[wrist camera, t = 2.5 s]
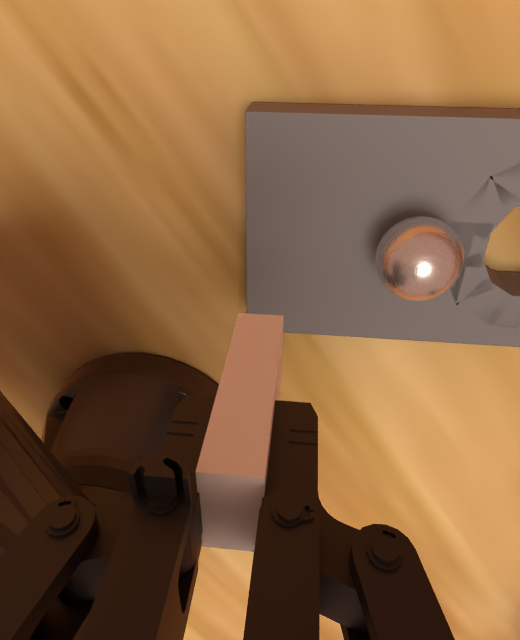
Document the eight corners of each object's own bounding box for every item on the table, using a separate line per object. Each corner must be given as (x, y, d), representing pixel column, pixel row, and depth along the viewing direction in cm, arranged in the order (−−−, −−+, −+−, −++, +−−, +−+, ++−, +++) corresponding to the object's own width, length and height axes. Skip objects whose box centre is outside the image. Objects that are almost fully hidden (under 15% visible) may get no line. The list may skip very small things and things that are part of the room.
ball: (366, 275, 25) (374, 314, 22) (377, 202, 23) (387, 233, 20) (442, 279, 25) (462, 319, 22) (460, 206, 23) (485, 238, 20)
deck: (252, 304, 31) (246, 329, 28) (252, 101, 24) (245, 111, 22) (576, 323, 29) (601, 352, 27) (668, 112, 23) (712, 123, 20)
